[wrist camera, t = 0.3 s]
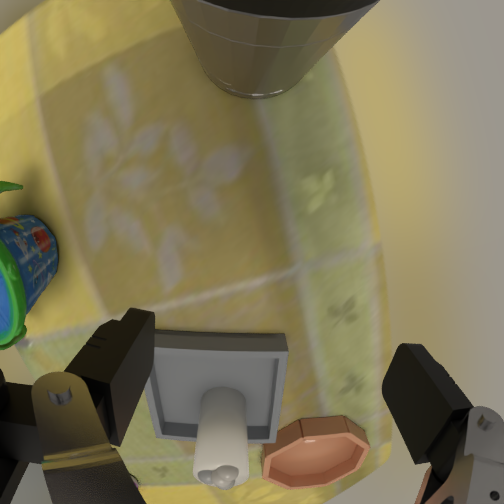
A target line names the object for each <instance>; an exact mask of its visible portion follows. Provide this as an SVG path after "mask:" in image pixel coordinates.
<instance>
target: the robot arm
mask: <svg viewBox="0 0 504 504" xmlns="http://www.w3.org/2000/svg"><path fill="white" fill-rule="evenodd" d="M170 1H171V3H172V5H173V7H174V9H175V11H176V13H177V15H178V17H179V19H180V21H181V23H182V25H183V27H184V30H185V32H186V34H187V36H188V38H189V40H190V42H191V44H192V46H193V48H194V50H195V52H196V54H197V57H198V59H199V61H200V63H201V65H202V67H203V69H204V71H205V73H206V74H207V75H208V77H209V78H210V79H211V81H213V82H214V83H215V84H216V85H217V86H218V87H219V88H221V89H223V90H225V91H226V92H228V93H230V94H233V95H236V96H239V97H243V98H250V99H261V98H268V97H273V96H277V95H279V94H281V93H283V92H285V91H287V90H289V89H290V88H291V87H293V86H294V85H296V84H297V83H298V81H299V80H300V79H301V78H302V77H303V76H304V75H305V74H306V73H307V72H308V71H309V70H310V69H311V68H312V67H313V66H314V65H315V64H316V63H317V62H318V61H319V60H320V59H321V58H322V57H323V56H324V55H325V54H326V53H327V52H328V51H329V50H330V49H331V48H332V47H333V46H334V45H335V44H336V43H337V42H338V40H340V39H341V38H342V37H343V36H344V35H345V33H347V31H349V30H350V29H351V28H352V27H353V26H354V25H355V24H356V23H357V22H358V21H359V20H360V19H361V18H362V17H363V16H364V15H365V14H366V13H367V12H368V11H369V10H370V9H371V8H372V7H374V6H375V5H376V4H377V3H378V2H379V1H380V0H170ZM154 346H155V314H154V312H151V311H146V310H141V309H136V308H129V310H128V311H127V312H126V314H125V315H124V316H123V318H122V319H121V320H120V321H118V320H113V319H112V320H110V321H108V322H106V323H104V324H102V325H101V326H99V327H98V329H97V330H96V331H95V332H94V334H93V335H92V337H90V339H89V340H88V341H87V342H86V345H84V346H83V347H82V349H81V350H80V351H79V352H78V354H77V355H76V356H75V357H74V359H73V360H72V361H71V363H70V364H69V365H68V366H67V368H66V369H65V370H64V372H51V373H48V374H45V375H43V376H41V377H40V378H38V379H37V380H36V381H35V383H34V384H33V385H25V384H17V383H10V382H6V381H5V378H4V375H3V372H2V370H1V369H0V504H10V503H11V501H12V499H13V496H14V494H15V492H16V490H17V487H18V485H19V483H20V481H21V479H22V477H23V475H24V473H25V471H26V468H27V467H28V464H29V462H31V463H37V464H42V470H43V473H44V477H45V480H46V484H47V487H48V491H49V494H50V497H51V500H52V503H53V504H146V502H145V501H144V499H143V497H142V495H141V494H140V492H139V490H138V488H137V487H136V485H135V483H134V481H133V479H132V478H131V476H130V474H129V472H128V470H127V468H126V466H125V464H124V462H123V460H122V458H121V456H120V455H119V453H118V451H117V450H116V448H112V447H111V445H110V444H112V445H115V446H119V447H120V446H121V443H122V441H123V438H124V436H125V433H126V431H127V428H128V426H129V423H130V421H131V419H132V416H133V414H134V411H135V409H136V406H137V404H138V402H139V399H140V397H141V394H142V392H143V390H144V387H145V385H146V383H147V380H148V378H149V376H150V373H151V371H152V367H153V362H154ZM382 395H383V398H384V400H385V402H386V404H387V406H388V408H389V410H390V412H391V414H392V416H393V418H394V420H395V422H396V424H397V427H398V429H399V431H400V433H401V435H402V437H403V439H404V441H405V444H406V446H407V448H408V450H409V452H410V455H411V457H412V459H413V461H414V463H415V465H416V464H422V463H427V462H430V463H431V466H430V467H429V468H428V470H427V471H426V473H425V476H424V479H423V482H422V485H421V488H420V490H419V493H418V496H417V498H416V501H415V504H504V422H503V419H502V418H501V416H500V415H499V414H498V413H496V412H495V411H494V410H492V409H490V408H487V407H483V406H477V407H474V406H473V405H472V404H471V402H470V401H469V400H468V398H467V397H466V396H465V394H464V393H463V392H462V390H461V389H460V388H459V387H458V385H457V384H455V381H454V380H453V379H452V378H451V377H449V374H448V373H447V371H446V370H445V369H444V367H443V366H442V365H440V364H439V363H438V362H436V361H435V360H434V359H433V357H432V356H431V355H430V354H429V352H428V351H427V350H426V349H425V347H424V346H423V345H422V344H409V343H408V344H407V343H402V344H400V345H399V346H398V348H397V350H396V352H395V354H394V357H393V359H392V362H391V364H390V366H389V368H388V371H387V373H386V375H385V377H384V380H383V383H382Z"/></svg>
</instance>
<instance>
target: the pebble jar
mask: <svg viewBox="0 0 504 504" xmlns="http://www.w3.org/2000/svg"><path fill="white" fill-rule="evenodd" d="M193 475H194V477H195V478H196V479H197V480H199V481H200V482H202V483H204V484H207V485H210V486H215V487H218V488H219V489H222V490H228V489H230V488H232V487H233V486H236V485H240V484H242V483H244V482H245V481H246V480H247V479H248V478H249V463H248V437H247V410H246V399H245V397H244V395H243V394H242V393H241V392H239V391H238V390H236V389H233V388H229V387H216V388H212V389H210V390H208V391H206V392H205V393H204V394H203V396H202V399H201V406H200V414H199V423H198V431H197V440H196V448H195V457H194V467H193Z"/></svg>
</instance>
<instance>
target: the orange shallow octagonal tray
mask: <svg viewBox="0 0 504 504" xmlns="http://www.w3.org/2000/svg"><path fill="white" fill-rule="evenodd" d="M369 449H370V444H369V442H368V439H367V436H366V434H365V431H364V430H363V429H361V428H360V427H358V426H357V425H356V424H354V423H353V422H352V421H350V420H349V419H348V418H346V417H345V416H333V417H322V418H308V419H300V421H299V420H297V421H295V422H293V423H292V424H290V425H288V426H287V427H285V428H283V429H282V430H280V431H278V432H277V437H276V443H263V449H262V458H261V468H262V478H263V479H264V480H267V481H269V482H271V483H274V484H276V485H278V486H281V487H283V488H285V489H289V490H291V489H303V488H313V487H322V486H326V485H329V484H331V483H334V482H336V481H337V480H339V479H341V478H343V477H345V476H347V475H349V474H351V473H353V472H355V471H356V470H358V469H359V468H360V467H361V465H362V463H363V461H364V459H365V457H366V455H367V453H368V451H369Z"/></svg>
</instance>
